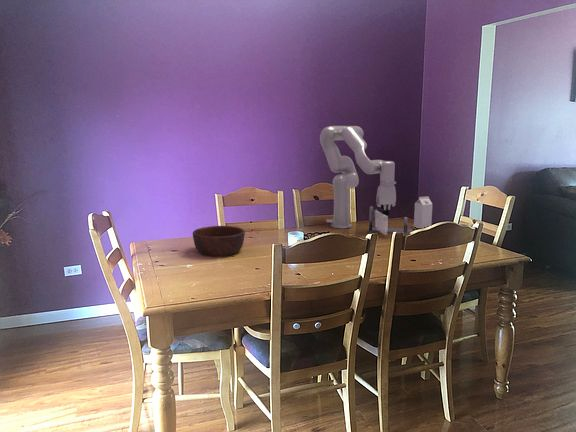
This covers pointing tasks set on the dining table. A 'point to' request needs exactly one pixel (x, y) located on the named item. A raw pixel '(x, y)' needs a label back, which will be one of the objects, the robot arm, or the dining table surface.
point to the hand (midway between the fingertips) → (385, 216)
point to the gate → (380, 222)
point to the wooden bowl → (218, 240)
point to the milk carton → (423, 212)
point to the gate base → (390, 230)
